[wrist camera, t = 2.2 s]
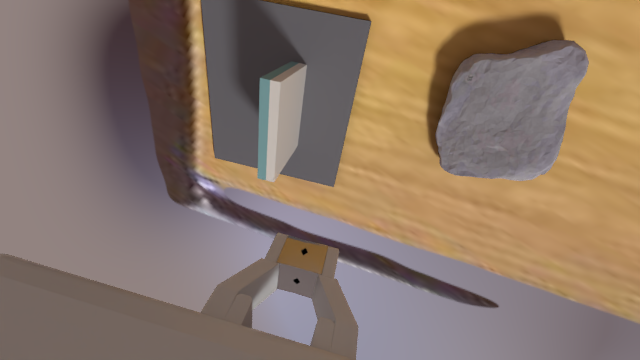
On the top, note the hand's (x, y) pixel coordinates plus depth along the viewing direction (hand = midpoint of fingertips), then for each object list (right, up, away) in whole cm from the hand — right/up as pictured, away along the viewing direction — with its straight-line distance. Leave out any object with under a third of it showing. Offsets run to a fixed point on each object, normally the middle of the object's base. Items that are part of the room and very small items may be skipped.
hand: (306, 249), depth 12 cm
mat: (-4, +12, +16) cm, 21 cm away
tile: (-2, +11, +16) cm, 19 cm away
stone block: (+17, +10, +13) cm, 24 cm away
